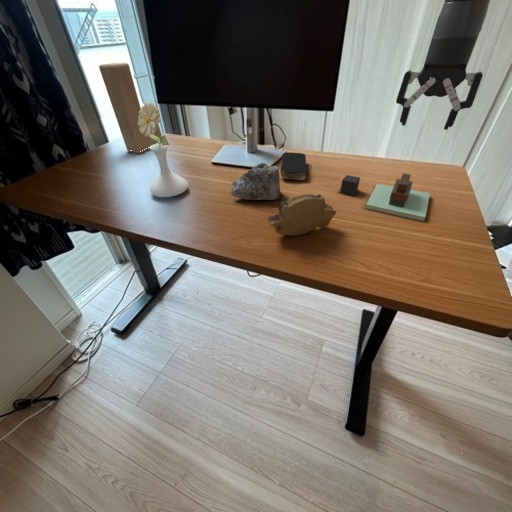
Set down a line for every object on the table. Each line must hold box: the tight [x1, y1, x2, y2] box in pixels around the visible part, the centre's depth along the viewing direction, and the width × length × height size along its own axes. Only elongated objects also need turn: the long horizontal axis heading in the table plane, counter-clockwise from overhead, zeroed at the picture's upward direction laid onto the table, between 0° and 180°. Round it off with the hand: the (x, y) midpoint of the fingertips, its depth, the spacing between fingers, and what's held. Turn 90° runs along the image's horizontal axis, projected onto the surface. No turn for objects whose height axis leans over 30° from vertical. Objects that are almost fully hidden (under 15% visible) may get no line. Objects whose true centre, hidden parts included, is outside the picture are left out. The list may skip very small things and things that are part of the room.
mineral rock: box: [230, 162, 282, 201], centre depth 76 cm, size 13×11×10 cm
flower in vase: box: [138, 101, 189, 198], centre depth 74 cm, size 13×11×25 cm
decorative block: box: [98, 62, 162, 154], centre depth 107 cm, size 15×8×30 cm, turn 157°
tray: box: [364, 183, 431, 222], centre depth 73 cm, size 14×14×1 cm
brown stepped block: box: [389, 172, 414, 207], centre depth 71 cm, size 9×4×6 cm, turn 150°
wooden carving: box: [267, 193, 337, 237], centre depth 61 cm, size 16×5×10 cm, turn 112°
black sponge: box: [279, 152, 307, 181], centre depth 90 cm, size 16×8×4 cm, turn 173°
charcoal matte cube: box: [339, 174, 361, 197], centre depth 78 cm, size 4×4×4 cm
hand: (424, 126), depth 61 cm, fingers open, 8 cm apart
